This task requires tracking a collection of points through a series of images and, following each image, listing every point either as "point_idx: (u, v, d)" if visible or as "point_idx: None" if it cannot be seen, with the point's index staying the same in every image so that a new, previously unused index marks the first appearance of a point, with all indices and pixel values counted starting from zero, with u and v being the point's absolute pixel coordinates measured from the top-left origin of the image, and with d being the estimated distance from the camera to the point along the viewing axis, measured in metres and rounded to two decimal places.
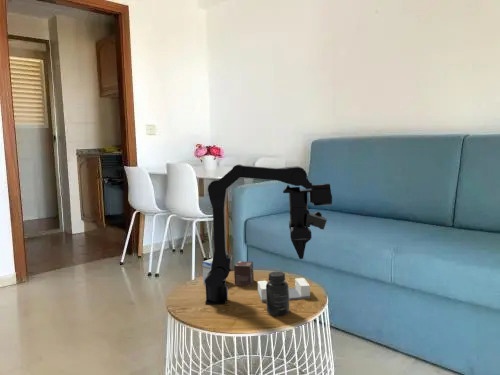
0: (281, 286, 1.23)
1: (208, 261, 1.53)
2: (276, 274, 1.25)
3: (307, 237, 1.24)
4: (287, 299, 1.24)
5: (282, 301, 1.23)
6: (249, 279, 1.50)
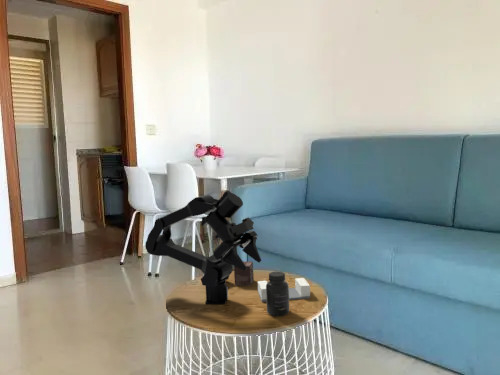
0: (281, 286, 1.23)
1: None
2: (276, 274, 1.25)
3: (224, 249, 1.22)
4: (287, 299, 1.24)
5: (282, 301, 1.23)
6: (249, 279, 1.50)
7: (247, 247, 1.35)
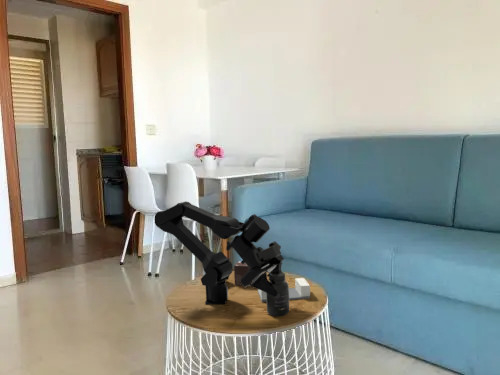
0: (281, 286, 1.23)
1: None
2: (276, 274, 1.25)
3: (253, 276, 1.18)
4: (287, 299, 1.24)
5: (282, 301, 1.23)
6: None
7: None
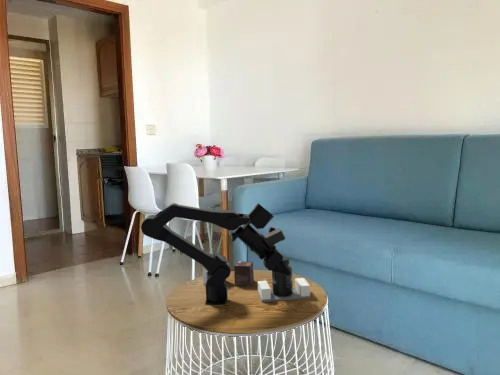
0: (289, 268, 1.38)
1: None
2: None
3: (279, 258, 1.29)
4: None
5: (291, 281, 1.38)
6: (249, 279, 1.50)
7: None
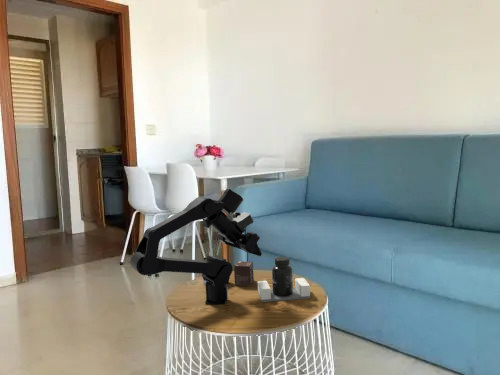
0: (290, 268, 1.38)
1: None
2: (282, 258, 1.38)
3: (257, 239, 1.33)
4: None
5: (291, 281, 1.38)
6: (249, 279, 1.50)
7: None
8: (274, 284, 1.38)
